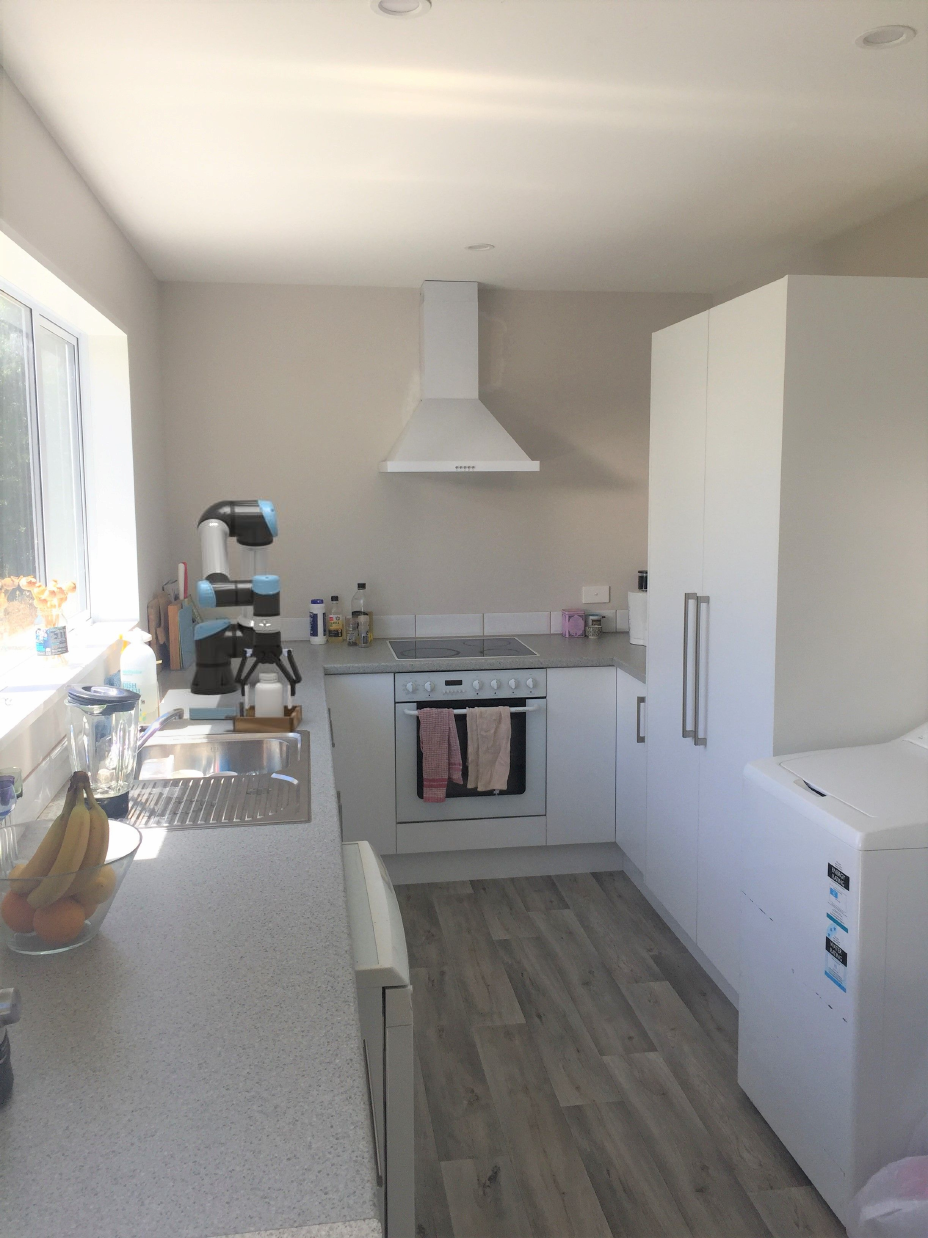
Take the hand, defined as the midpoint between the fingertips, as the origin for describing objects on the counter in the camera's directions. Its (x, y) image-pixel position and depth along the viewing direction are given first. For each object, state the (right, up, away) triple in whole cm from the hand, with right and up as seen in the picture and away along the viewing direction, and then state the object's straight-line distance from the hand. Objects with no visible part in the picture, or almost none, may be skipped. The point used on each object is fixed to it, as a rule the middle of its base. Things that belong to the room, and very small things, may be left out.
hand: (268, 707), depth 269 cm
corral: (-1, -5, +1) cm, 5 cm away
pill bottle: (0, -5, +1) cm, 5 cm away
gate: (-18, -4, +8) cm, 20 cm away
